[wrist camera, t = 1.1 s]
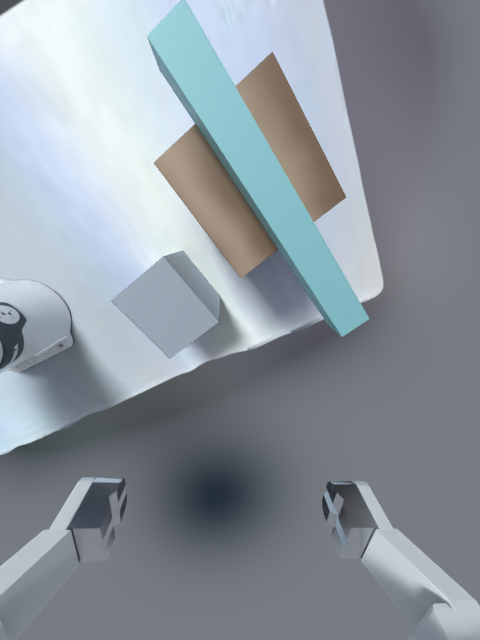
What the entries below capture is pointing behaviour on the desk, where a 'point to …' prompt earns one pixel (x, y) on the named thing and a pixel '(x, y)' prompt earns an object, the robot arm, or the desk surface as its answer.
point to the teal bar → (251, 163)
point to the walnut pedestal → (221, 192)
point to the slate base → (171, 303)
